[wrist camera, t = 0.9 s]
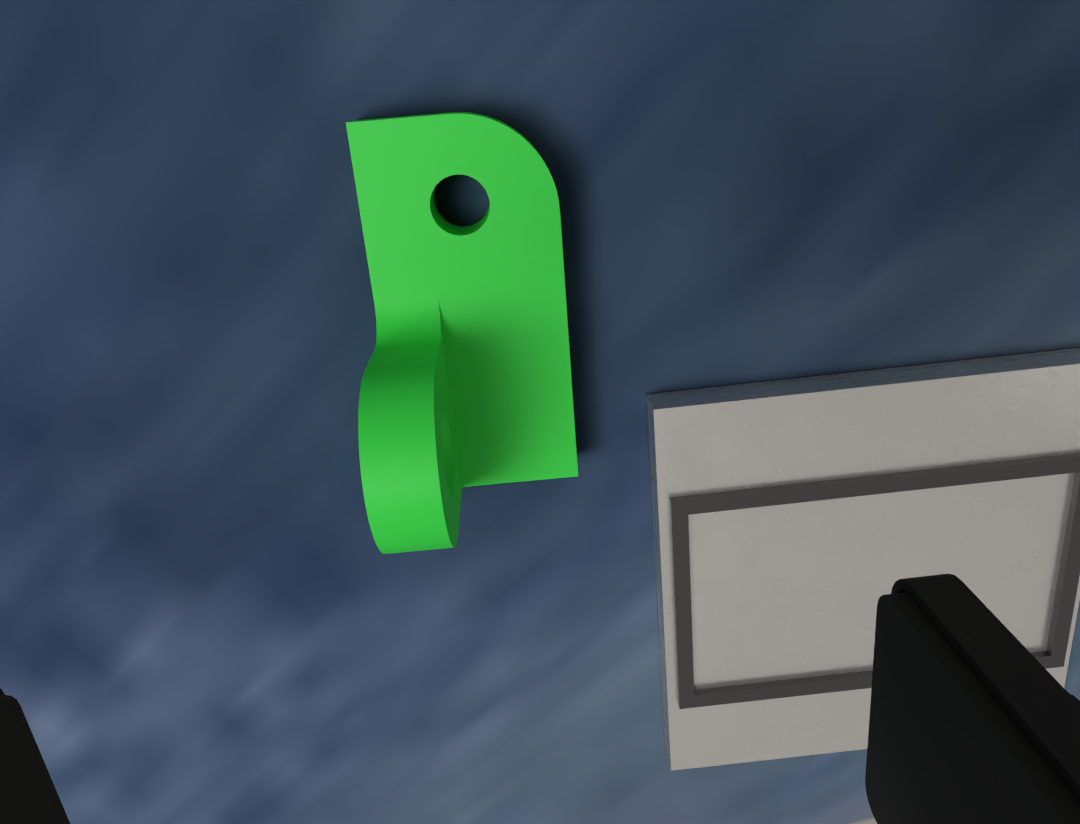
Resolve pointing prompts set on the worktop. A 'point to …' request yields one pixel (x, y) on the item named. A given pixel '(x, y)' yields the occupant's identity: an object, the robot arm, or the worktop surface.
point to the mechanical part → (458, 324)
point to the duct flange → (850, 536)
